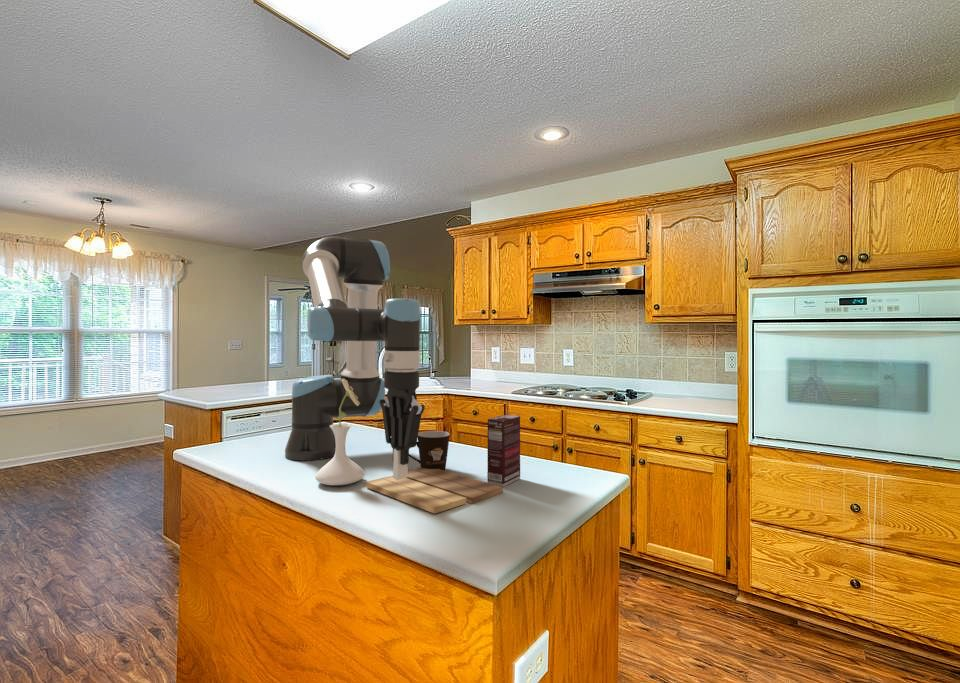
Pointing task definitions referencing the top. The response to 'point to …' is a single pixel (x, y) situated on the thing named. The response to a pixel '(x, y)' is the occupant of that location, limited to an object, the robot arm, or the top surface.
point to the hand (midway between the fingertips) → (400, 477)
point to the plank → (416, 494)
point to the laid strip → (455, 484)
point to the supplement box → (503, 450)
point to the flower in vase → (341, 452)
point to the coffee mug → (432, 449)
